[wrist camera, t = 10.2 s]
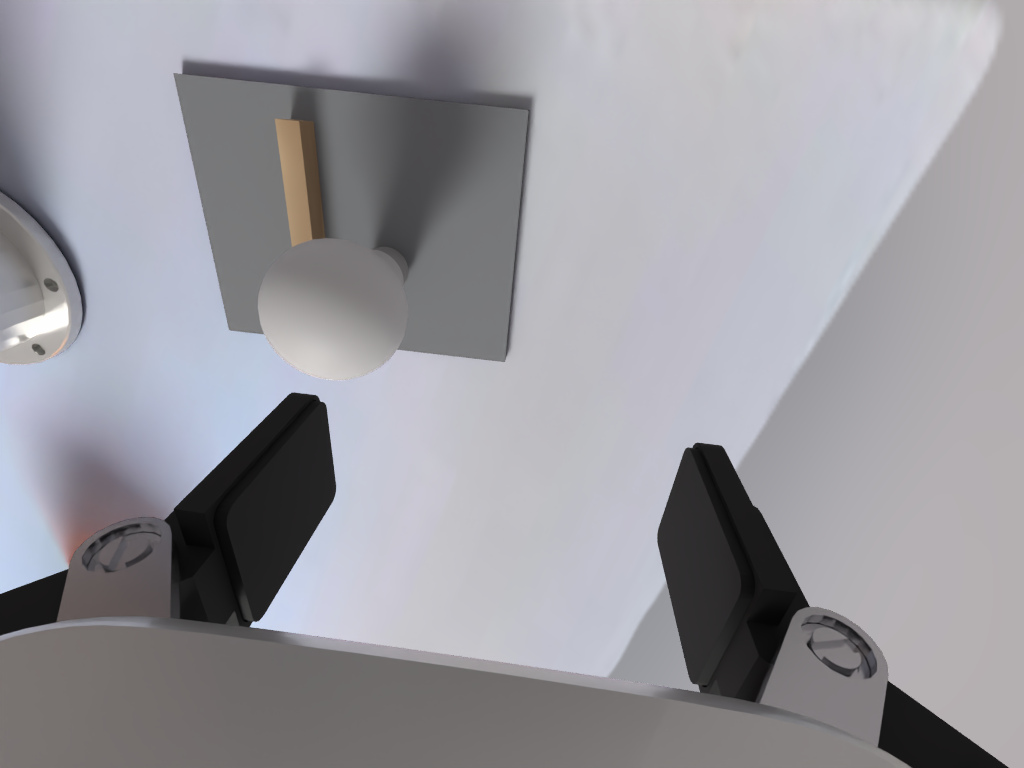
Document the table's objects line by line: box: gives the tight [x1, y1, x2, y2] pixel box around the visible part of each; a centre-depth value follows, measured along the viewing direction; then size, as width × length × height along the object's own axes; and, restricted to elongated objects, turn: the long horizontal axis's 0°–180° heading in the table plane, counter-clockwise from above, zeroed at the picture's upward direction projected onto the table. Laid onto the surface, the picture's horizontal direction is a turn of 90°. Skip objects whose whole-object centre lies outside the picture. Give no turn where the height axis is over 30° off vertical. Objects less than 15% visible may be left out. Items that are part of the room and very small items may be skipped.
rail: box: [275, 119, 325, 247], centre depth 27 cm, size 1×13×2 cm, turn 175°
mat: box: [174, 73, 529, 362], centre depth 27 cm, size 18×14×1 cm
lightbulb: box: [258, 238, 409, 381], centre depth 23 cm, size 6×6×11 cm
